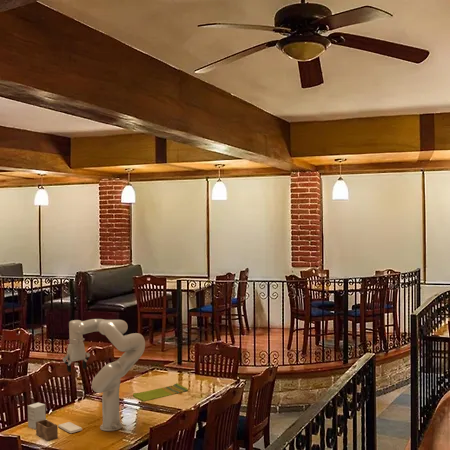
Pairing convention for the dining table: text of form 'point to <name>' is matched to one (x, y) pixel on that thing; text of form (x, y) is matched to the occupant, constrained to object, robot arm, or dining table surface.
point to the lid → (70, 427)
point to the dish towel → (160, 392)
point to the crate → (46, 430)
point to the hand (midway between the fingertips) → (76, 370)
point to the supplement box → (36, 414)
